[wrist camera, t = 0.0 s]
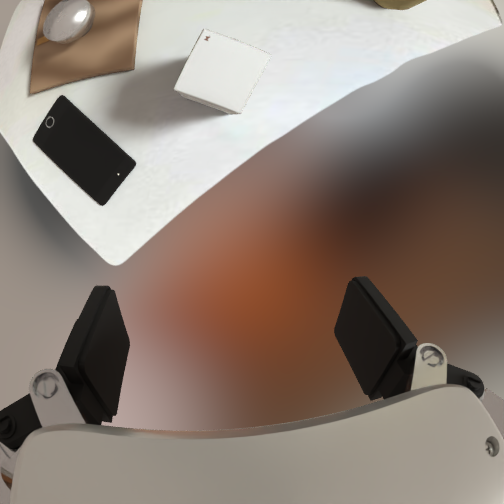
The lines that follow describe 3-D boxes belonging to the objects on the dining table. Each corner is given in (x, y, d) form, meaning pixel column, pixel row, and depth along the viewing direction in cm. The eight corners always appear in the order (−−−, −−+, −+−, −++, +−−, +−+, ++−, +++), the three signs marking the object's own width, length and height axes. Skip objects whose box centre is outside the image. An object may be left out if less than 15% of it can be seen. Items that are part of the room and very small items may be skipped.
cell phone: (63, 94, 28) (60, 94, 27) (138, 163, 36) (136, 164, 35) (34, 139, 30) (31, 139, 29) (104, 205, 38) (102, 207, 37)
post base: (48, 2, 17) (37, -4, 14) (148, -27, 20) (143, -37, 17) (34, 93, 26) (21, 93, 22) (134, 69, 28) (126, 65, 25)
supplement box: (182, 98, 32) (169, 89, 21) (205, 53, 29) (203, 25, 18) (231, 116, 34) (241, 116, 23) (253, 72, 32) (273, 53, 21)
